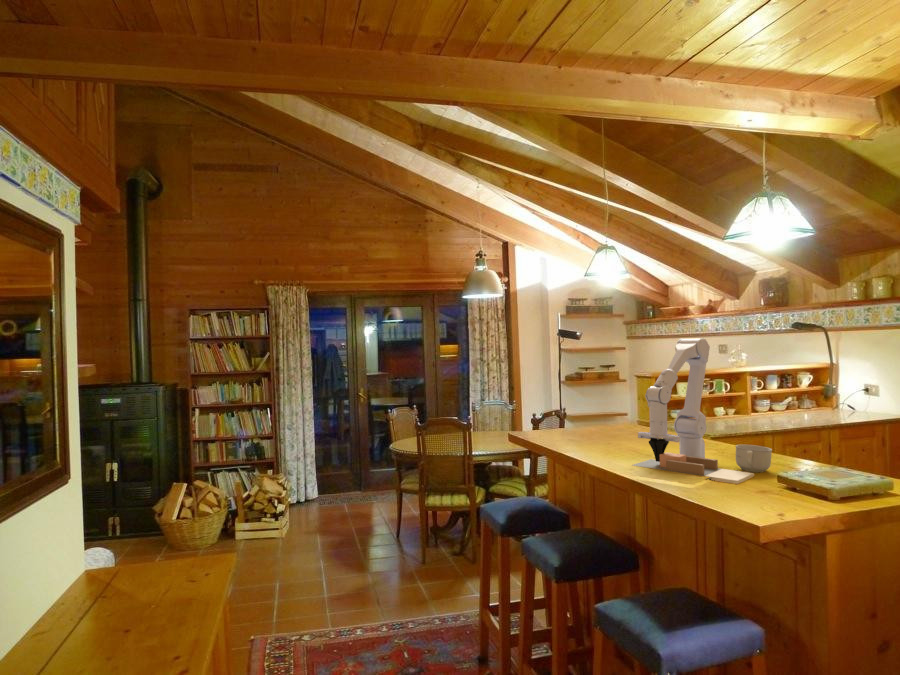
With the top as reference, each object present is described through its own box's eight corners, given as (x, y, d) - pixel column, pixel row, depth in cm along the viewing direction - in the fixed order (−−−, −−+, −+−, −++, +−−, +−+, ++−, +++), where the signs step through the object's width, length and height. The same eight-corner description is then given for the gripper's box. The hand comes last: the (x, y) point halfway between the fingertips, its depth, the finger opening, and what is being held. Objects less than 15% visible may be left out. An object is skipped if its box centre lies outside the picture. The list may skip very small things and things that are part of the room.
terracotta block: (666, 464, 212) (666, 452, 212) (686, 466, 207) (686, 454, 207) (659, 466, 208) (659, 454, 208) (679, 469, 203) (679, 457, 203)
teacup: (743, 466, 212) (742, 442, 212) (777, 470, 204) (776, 446, 204) (726, 472, 202) (726, 448, 202) (762, 477, 194) (761, 452, 194)
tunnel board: (650, 462, 221) (650, 450, 221) (754, 476, 196) (753, 463, 196) (631, 468, 211) (631, 456, 211) (737, 484, 186) (737, 470, 186)
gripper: (633, 420, 213) (633, 460, 213) (673, 424, 203) (674, 465, 203) (643, 418, 218) (643, 457, 218) (682, 422, 208) (683, 462, 208)
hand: (659, 461), depth 211 cm, fingers closed
